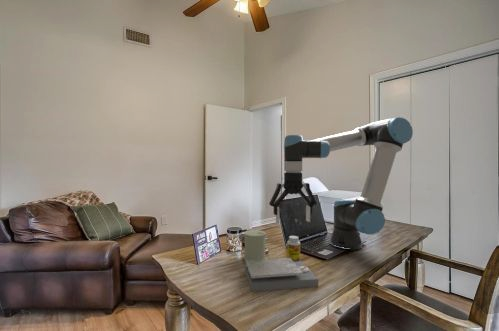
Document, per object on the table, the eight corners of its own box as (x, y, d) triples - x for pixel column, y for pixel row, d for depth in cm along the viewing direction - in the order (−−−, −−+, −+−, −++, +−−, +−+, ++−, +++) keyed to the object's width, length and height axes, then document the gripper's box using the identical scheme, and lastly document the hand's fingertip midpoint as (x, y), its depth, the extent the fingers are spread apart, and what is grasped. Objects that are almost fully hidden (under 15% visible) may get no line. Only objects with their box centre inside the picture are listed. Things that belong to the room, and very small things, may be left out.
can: (263, 264, 103) (264, 235, 102) (241, 262, 104) (242, 233, 104) (266, 256, 112) (267, 229, 111) (246, 254, 114) (246, 228, 113)
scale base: (301, 267, 100) (301, 259, 100) (318, 286, 85) (318, 277, 85) (244, 271, 96) (244, 263, 96) (251, 291, 81) (251, 282, 81)
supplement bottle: (286, 262, 105) (287, 238, 104) (286, 257, 110) (287, 234, 110) (300, 263, 104) (300, 239, 103) (299, 258, 109) (300, 235, 109)
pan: (290, 259, 98) (290, 257, 98) (302, 274, 85) (302, 272, 85) (245, 262, 95) (245, 260, 95) (251, 278, 82) (251, 275, 82)
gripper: (317, 171, 112) (316, 218, 112) (262, 171, 108) (262, 220, 108) (324, 172, 104) (324, 222, 105) (266, 172, 100) (266, 225, 101)
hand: (292, 221), depth 107 cm, fingers open, 13 cm apart
